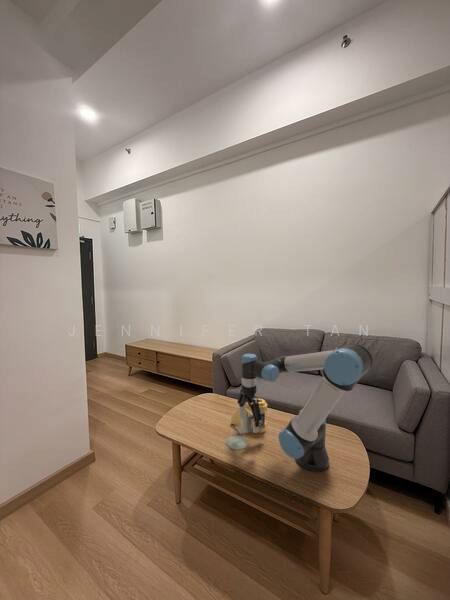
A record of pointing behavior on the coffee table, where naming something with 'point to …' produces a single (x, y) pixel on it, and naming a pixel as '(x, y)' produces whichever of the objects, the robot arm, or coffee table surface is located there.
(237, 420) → the clamp
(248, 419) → the link
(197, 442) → the coffee table surface
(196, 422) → the coffee table surface
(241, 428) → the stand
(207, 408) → the coffee table surface
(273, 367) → the robot arm
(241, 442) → the coaster
